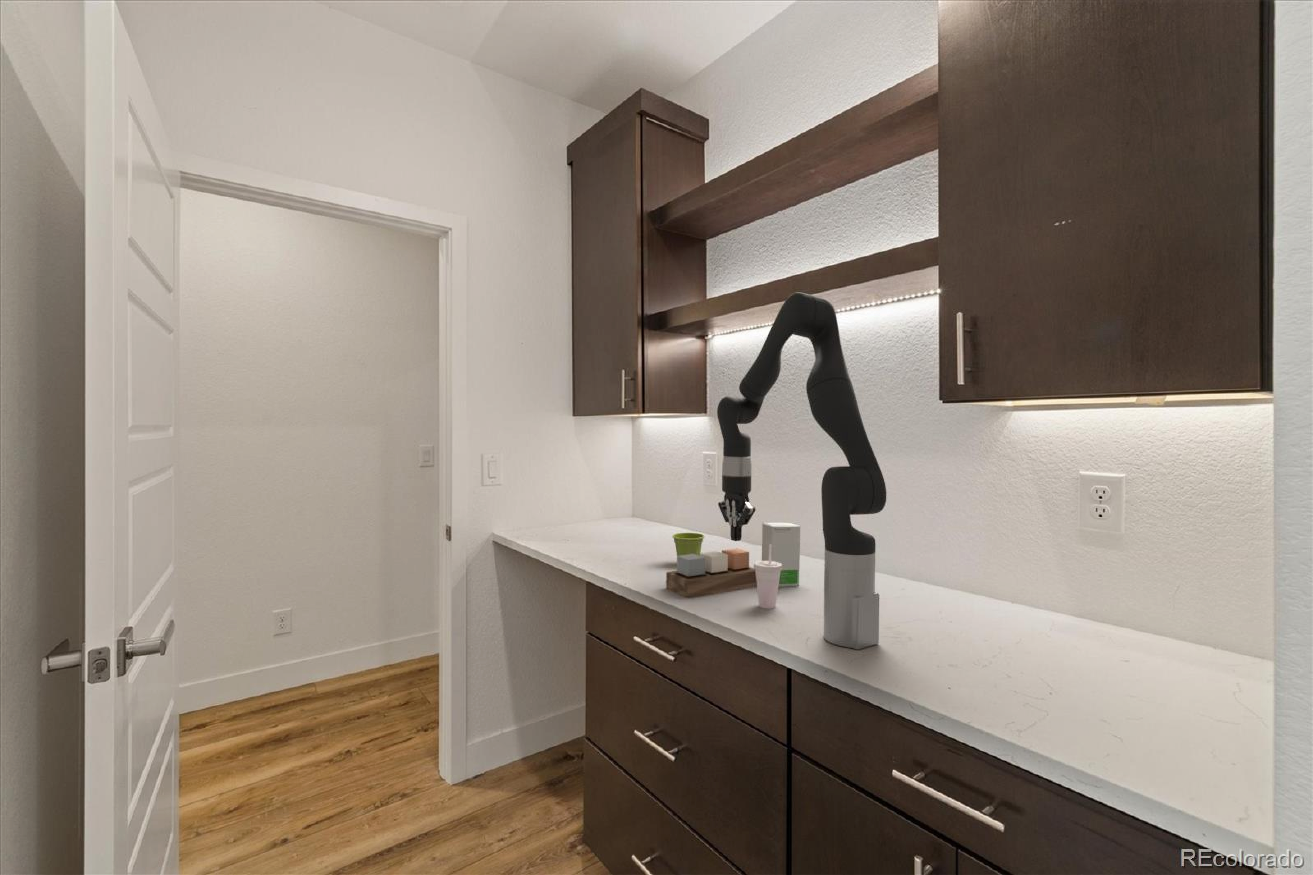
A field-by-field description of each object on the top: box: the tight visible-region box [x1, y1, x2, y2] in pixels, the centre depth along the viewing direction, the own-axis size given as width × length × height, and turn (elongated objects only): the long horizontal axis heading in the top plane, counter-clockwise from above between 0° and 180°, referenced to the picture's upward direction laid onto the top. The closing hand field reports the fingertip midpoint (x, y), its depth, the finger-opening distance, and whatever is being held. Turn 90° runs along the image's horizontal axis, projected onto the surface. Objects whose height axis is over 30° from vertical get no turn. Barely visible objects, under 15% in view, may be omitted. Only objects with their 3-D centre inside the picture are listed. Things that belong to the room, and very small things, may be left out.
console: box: [665, 566, 757, 599], centre depth 150 cm, size 10×22×4 cm, turn 121°
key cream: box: [700, 550, 728, 573], centre depth 150 cm, size 5×5×4 cm
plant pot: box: [671, 532, 705, 557], centre depth 174 cm, size 9×9×9 cm
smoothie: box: [753, 545, 782, 610], centre depth 134 cm, size 6×6×14 cm
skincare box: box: [761, 522, 801, 588], centre depth 154 cm, size 8×7×16 cm
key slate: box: [676, 554, 705, 576], centre depth 146 cm, size 5×5×4 cm
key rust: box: [721, 548, 750, 569], centre depth 154 cm, size 5×5×4 cm
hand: (735, 540), depth 154 cm, fingers closed
